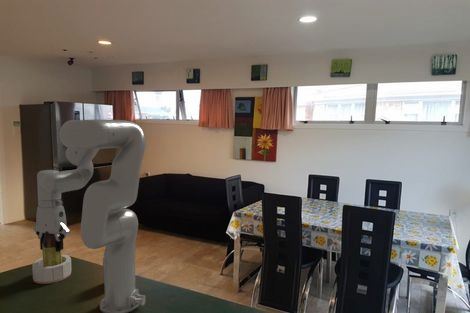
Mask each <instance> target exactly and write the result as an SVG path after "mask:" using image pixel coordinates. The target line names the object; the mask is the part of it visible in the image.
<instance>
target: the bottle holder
mask: <svg viewBox="0 0 470 313" xmlns="http://www.w3.org/2000/svg"><path fill="white" fill-rule="evenodd" d="M31 264H32V280H33V282H34V283H35V284H38V285H39V284H40V285H49V284H55V283H59V282H61V281H64V280H65V279H68V278H70V276H71V275H72V258H71V256H70V255H68V254H63V253H62V263H61V264H59V265H55V266H50V267H44V265H43V257H40V258H37V259H36V260H34V261H33V263H31Z"/></svg>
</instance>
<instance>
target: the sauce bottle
mask: <svg viewBox="0 0 470 313" xmlns="http://www.w3.org/2000/svg"><path fill="white" fill-rule="evenodd" d="M45 226H47V225H46V224H45ZM58 235H59V237H60V234H58ZM56 241H57V240H56V237H55V235H54V234H50V233H49V232H47V231H46V232H45V234H44V237H43V240H42V250H41V251H42V258H43V265H44V267H50V266H55V265H59V264H61V263H62V254H63V253H62V252H63V251H62V250H60V251H58V252H56V248H55V242H56Z"/></svg>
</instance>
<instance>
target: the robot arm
mask: <svg viewBox="0 0 470 313" xmlns="http://www.w3.org/2000/svg"><path fill="white" fill-rule="evenodd" d="M145 136H146V135H145V133H144V131H143V129H142V127H141V126H139V124H137V123H135V122H134V121H130V120H125V119H123V120H122V119H71V120H67V121H65V122H64V123H63V125H62V126H61V128H60V130H59V139H60V142H61V144H62V145H63V146H65V147H66V150H65V157H66V159H67V160H68V161H69V163H71V165H74V166H76V169H72V170H71V169H70V170H61V171H59V170H57V169H45V170H40V171H38V172H37V175H36V181H37V182H36V185H37V202H38V203H37V204H38V206H37V208H36V216H35V217H36V219H35V225H34V226H33V228H32V230H33V231H34V232H35V234H36V235H37V237H38V240H39V248H40V250H41V251H42V240H43V237H44V234H45V232H46V231H47V232H49V233H50V234H54V235H55V237H56V240H57V241H56V242H55V248H56V252H58V251H60V250H61V251H62V250H64V239H65V238H66V237H67V236H68V235H69V233H70V229H69V228H68V227H67V226H68V225H67V216H66V211H65V207H64V205H63V204H64V202H63V200H62V194H63V193H66V192H71V191H77V190H80V189H82V188H84V187H86V185H87V184H88V183H89V181H90V180H91V178H92V177H93V175H94V164H93V161H92V160H93V159H94V158H95V156H97V153H98V152H99V150H101V149H103V150H104V149H115V148H120V150H119V151H118V152H117V153H116V155H115V156H114V159H113V160H112V164H111V170H110V171H111V172H110V176H109V178H108V179H105V180H99V181H96V182H95V181H94V182H93V183H91V184H90V185H89V186H88V187H87V188H86V190H85V193H84V195H83V201H82V210H81V211H82V212H81V222H80V237H81V241H82V243H83V245H84V246H85V247H87V248H88V249H91V250H96V249H97V250H99V249H101V248H105V249H104V252H103V258H104V280H103V286H104V297H103V298H102V299H101V301H99V310H100V311H101V312H102V313H129V312H133V311H134V310H135V309H137V308H138V307H139V306H145V304H146V294H140V292H139V288H136V241H137V235H138V230H139V219H138V216H137V214H136V213H135V212H134V211H133V210H131V209H129V207H131V206H133V204H135V202H136V201H137V198H138V194H139V193H138V192H139V191H138V190H139V183H140V176H141V168H142V162H143V159H144V156H145V151H146V142H147V141H146V137H145ZM45 224H46V225H47V226H45ZM58 234H59V235H60V237H59V235H58Z"/></svg>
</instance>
